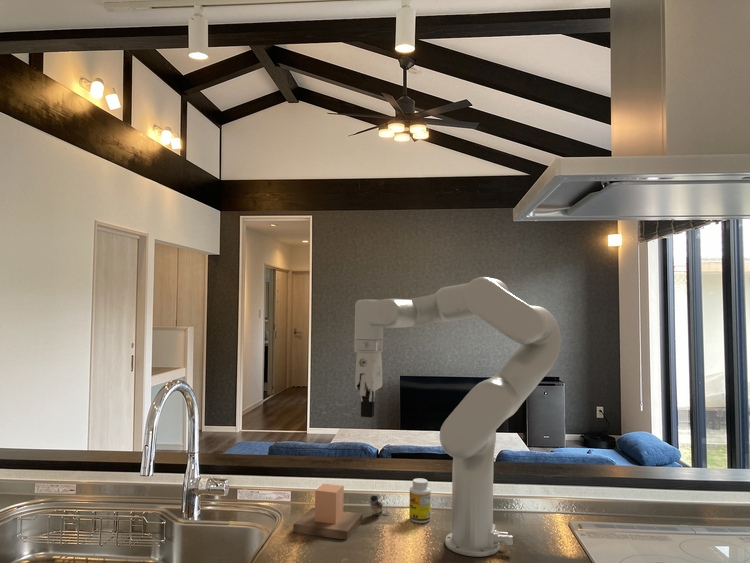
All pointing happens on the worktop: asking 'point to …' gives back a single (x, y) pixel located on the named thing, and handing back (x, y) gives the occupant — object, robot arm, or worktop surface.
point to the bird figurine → (377, 506)
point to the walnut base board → (328, 525)
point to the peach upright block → (329, 503)
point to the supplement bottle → (420, 501)
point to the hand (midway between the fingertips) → (367, 416)
